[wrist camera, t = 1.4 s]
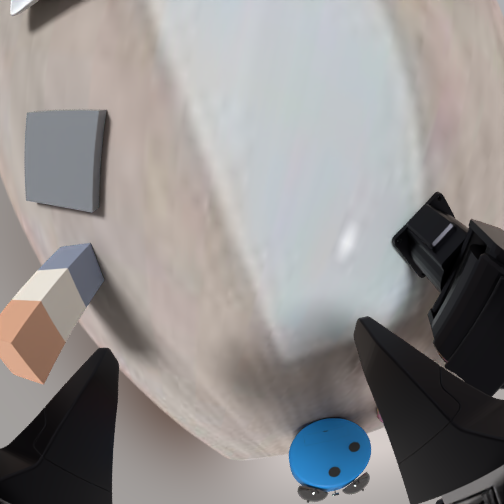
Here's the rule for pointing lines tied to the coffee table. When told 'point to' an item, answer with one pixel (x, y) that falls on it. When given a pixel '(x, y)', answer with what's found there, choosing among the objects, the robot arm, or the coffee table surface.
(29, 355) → the brick stack
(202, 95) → the coffee table surface
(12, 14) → the salad plate
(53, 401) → the robot arm
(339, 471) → the alarm clock
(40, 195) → the baseplate
